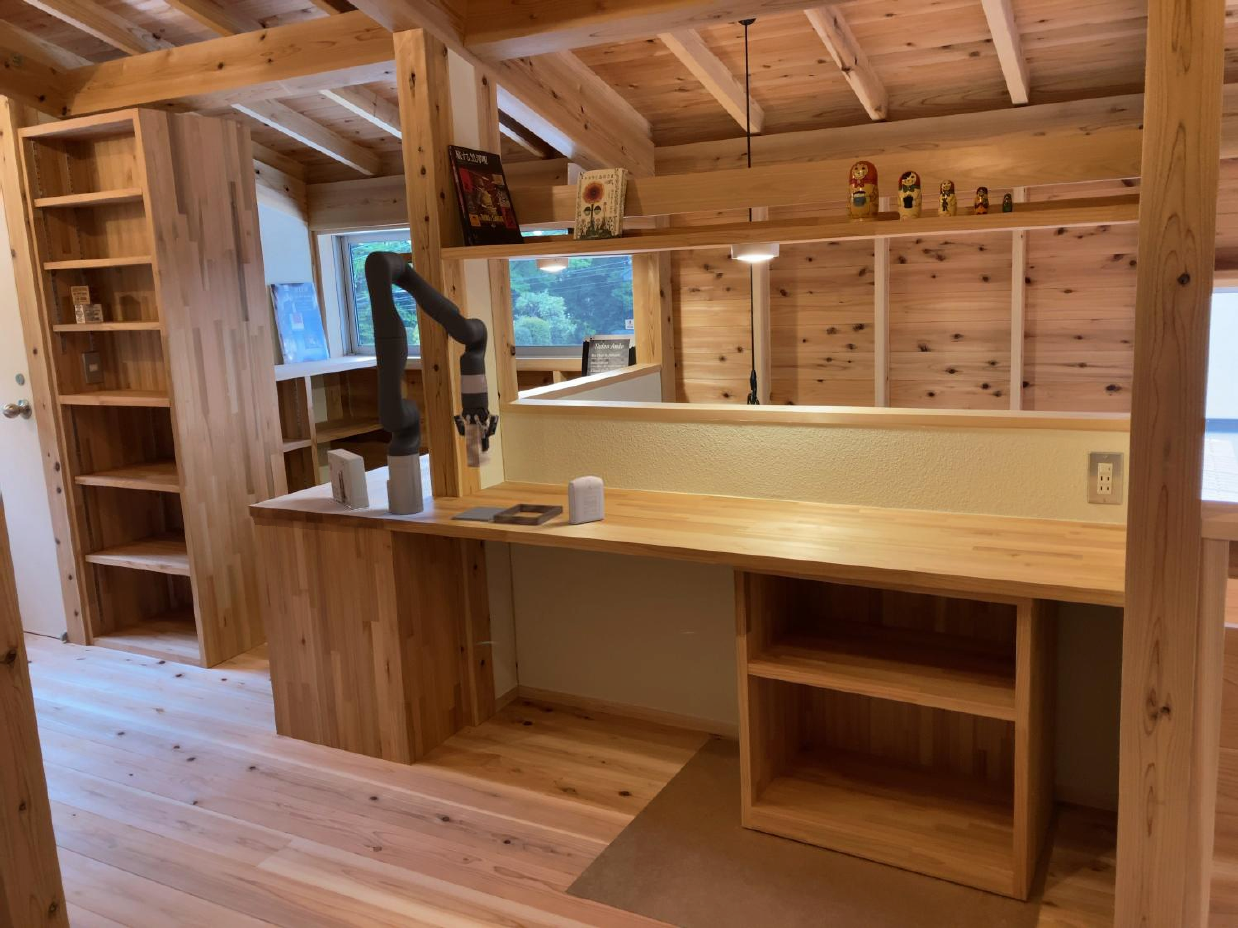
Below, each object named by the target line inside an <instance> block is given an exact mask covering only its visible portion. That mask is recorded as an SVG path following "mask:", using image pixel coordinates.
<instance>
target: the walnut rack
mask: <svg viewBox="0 0 1238 928" xmlns="http://www.w3.org/2000/svg"><path fill="white" fill-rule="evenodd" d="M563 507H564V506H563V505H554V504H553V505H552V504H551V505H550V504H536V503H535V504H533V503H517V504H515V505H512V506H511V507H508V508H509V509H506V510H504V511H502V512H500V513H498V514H495V515H493V516H494V519H493V523H499V524H515V525H527V526H528V525H529V526H540V525H542V524H544V523H546V522H547V521H550V520H551V519H554V518H556V517H557V516H559V515H561V514H563V513H564V508H563ZM521 512H529V513H532V512H533V513H542V514H540V515H538V516H525V515H524V516H523V515H516V514H518V513H521Z"/></svg>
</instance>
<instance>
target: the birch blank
mask: <svg viewBox="0 0 1238 928" xmlns="http://www.w3.org/2000/svg"><path fill="white" fill-rule="evenodd" d="M487 424H488V425H489V421H487ZM484 426H485V424H484V425H483V427H484ZM464 438H465V450H466V451H465V452H466V463H467V468H482V467H485V466H488V465H491V464H492V463H491V450H490V449H491V448H490V447H491V446H489V449H488V451H482V440H481V439H482V436H481V431H480V426H479V424H466V423H465V437H464Z"/></svg>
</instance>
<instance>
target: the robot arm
mask: <svg viewBox="0 0 1238 928" xmlns="http://www.w3.org/2000/svg"><path fill="white" fill-rule="evenodd" d="M363 268H364V277H365V280H366V281H365V283H366V286H367V287H366V288H367V291H368V296H369V300H370V301H369V303H370V308H371V309H370V311H371V319H372V328H373V343H374V352H375V360H376V361H375V362H376V370H377V385H378V388H377V389H378V390H377V391H378V394H377V395H378V396H377V399H378V400H377V413H378V414H377V415H378V420H379V423H380V426H381V428H383V430H384V431H386V432H387V433H391V434H392V437H391V440H390V442H389V443H388V444H387V446H386V454H387V457H386V459H387V468H388V469H387V470H388V479H387V480H386V491H387V503H388V512H389V513H393V514H396V515H409V514H410V515H411V514H415V513H419V512H422V511H424V509H425V508H424V507H425V506H424V497H423V486H422V485H423V484H422V482H423V481H422V471H421V470H422V469H421V460H420V445H421V442H422V429H421V427H422V426H421V414H420V411H419V407H418V405H417V403H416V402H415V401H413V400H412V399H411V398H406V397H403V393H402V379H403V376H404V372H405V369H406V365H407V362H408V358H409V357H408V356H409V345H408V336H407V335H408V333H407V329H406V326H405V324H404V321H403V319H402V317H401V315H400V312H398V309H397V307H396V303H395V302H394V294H393V285H394V286H396V287H399V288H400V289H402V290H404V291H405V292H407V293H408V294H409V295H410V296H411V297H412V298H413V299H414V300H415V302H416V304H417V305H418V306H419V308H420V309H421V310H422V311H423V312H424V313H425V314H426V315H428V316H429V317H430V318H431V319H433V320H434V321H435V322H436V323H437V324H440V326H441V327H442V328H443V329H444V330H445V331H446V332H447V334H448V336H450V337H451V339H453V340H454V341H455V342H457V343H458V344H461V345H465V346H464V347H465V348H464V352H463V354H461V355H460V356H459V373H460V379H459V387H460V400H461V401H460V402H461V407H462V411H461V413H459V414H457V415H454V416H452V417H453V420H454V423H455V427H456V429H457V432H458V435H460V436H463V437H464V438H465V425H466V424H479V426H480V431H481V436H482V439H481V440H482V451H488V449H489V447H490V437H491V436H494V435H495V434H496V432H497V431H496V430H497V426H498V423H499V420H500V419H499V417H500V416H499V415H498V414H495V415H494V414H491V412H490V411H489V391H488V388H489V387H488V380H487V376H486V375H487V374H486V372H487V371H486V362H485V357H486V353H487V345H488V338H489V337H488V330H487V326H486V324H485V322H483V320H481V319H480V318H475V317H473V318H472V317H471V318H466V317H464V316H463V315H462V313H461V311H460V308H459V306H458V305H456V304H455V303H454V302H453V301H452V300H450V299H449V298H447V297H446V296H445V295H443V293H442V292H440V291H438V290H437V289H436V288H434V287H433V286H432V285H431V284H430V283H428V282H427V281H426V280H425V279H424V278H423V277H422V276H421V275H420V274H419V273H418V272H417V271H416V270H415V268H414V267H412V265H410V264H409V263H408V262H407V260H406V259H405V257H403V256H402V255H400V254H399V253H398V252H395V251H389V250H388V251H386V250H385V251H383V250H382V251H381V250H374V251H371V252H370V253H369V254H368V255H367V256H366V258H365V261H364V267H363ZM464 421H465V422H464ZM487 422H488V424H487ZM484 424H485V426H484V427H483V425H484Z"/></svg>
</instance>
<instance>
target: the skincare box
mask: <svg viewBox="0 0 1238 928" xmlns="http://www.w3.org/2000/svg"><path fill="white" fill-rule="evenodd" d="M326 454H327V461H328V469H329V476H330V484H331V492H332V499H333V498H334V499H336V500H337V501H336V500H335V501H336V502H338V501H340V502H342V503H344V504H345V505H347V506H350V507H351V508H353V509H358V510H360V509H359V508H364V509H367V508H366V507H369V508H370V501H369V493H368V485H367V479H366V471H365V470H366V469H365V461H364V457H363V456H361V455H358V454H355V453H353V452H351V451H348V450H345V449H344V448H338V449H332V450H327V451H326ZM334 499H333V500H334ZM340 502H339V503H340ZM342 503H341V504H342ZM344 504H343V505H344ZM345 505H344V506H345ZM347 506H346V507H347ZM351 508H350V509H351ZM353 509H352V510H353Z"/></svg>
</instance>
